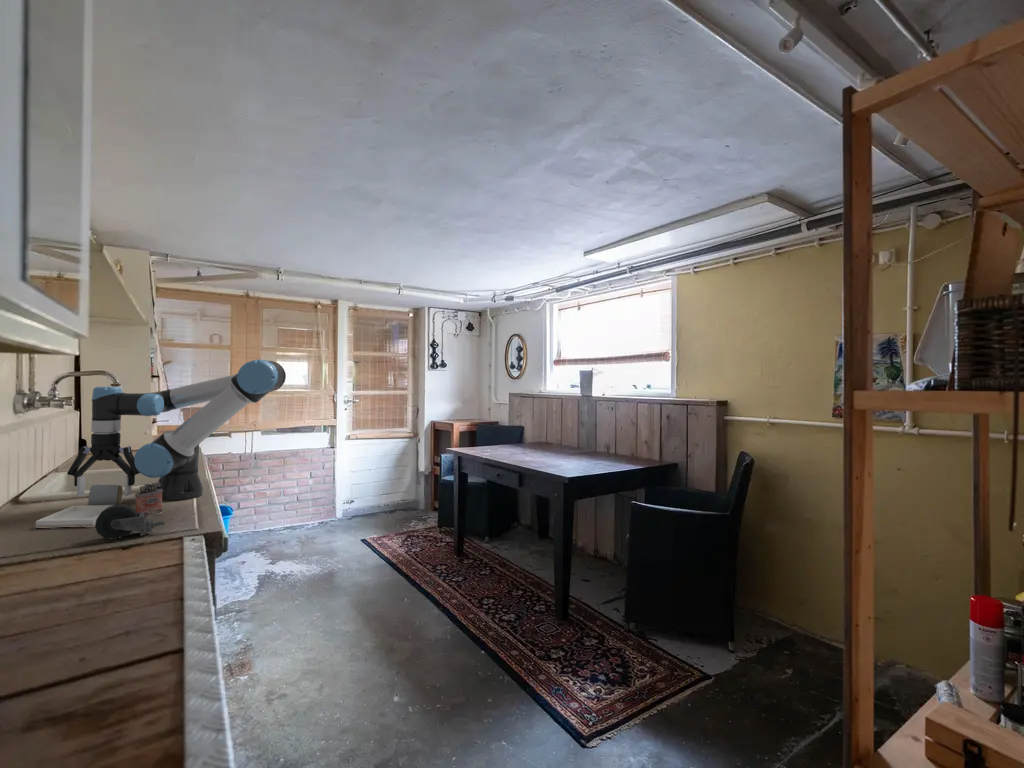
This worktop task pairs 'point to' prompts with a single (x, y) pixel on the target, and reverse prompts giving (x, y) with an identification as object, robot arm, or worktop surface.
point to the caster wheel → (123, 522)
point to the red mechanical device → (149, 499)
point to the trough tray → (73, 516)
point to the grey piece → (105, 495)
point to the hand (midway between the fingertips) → (104, 495)
